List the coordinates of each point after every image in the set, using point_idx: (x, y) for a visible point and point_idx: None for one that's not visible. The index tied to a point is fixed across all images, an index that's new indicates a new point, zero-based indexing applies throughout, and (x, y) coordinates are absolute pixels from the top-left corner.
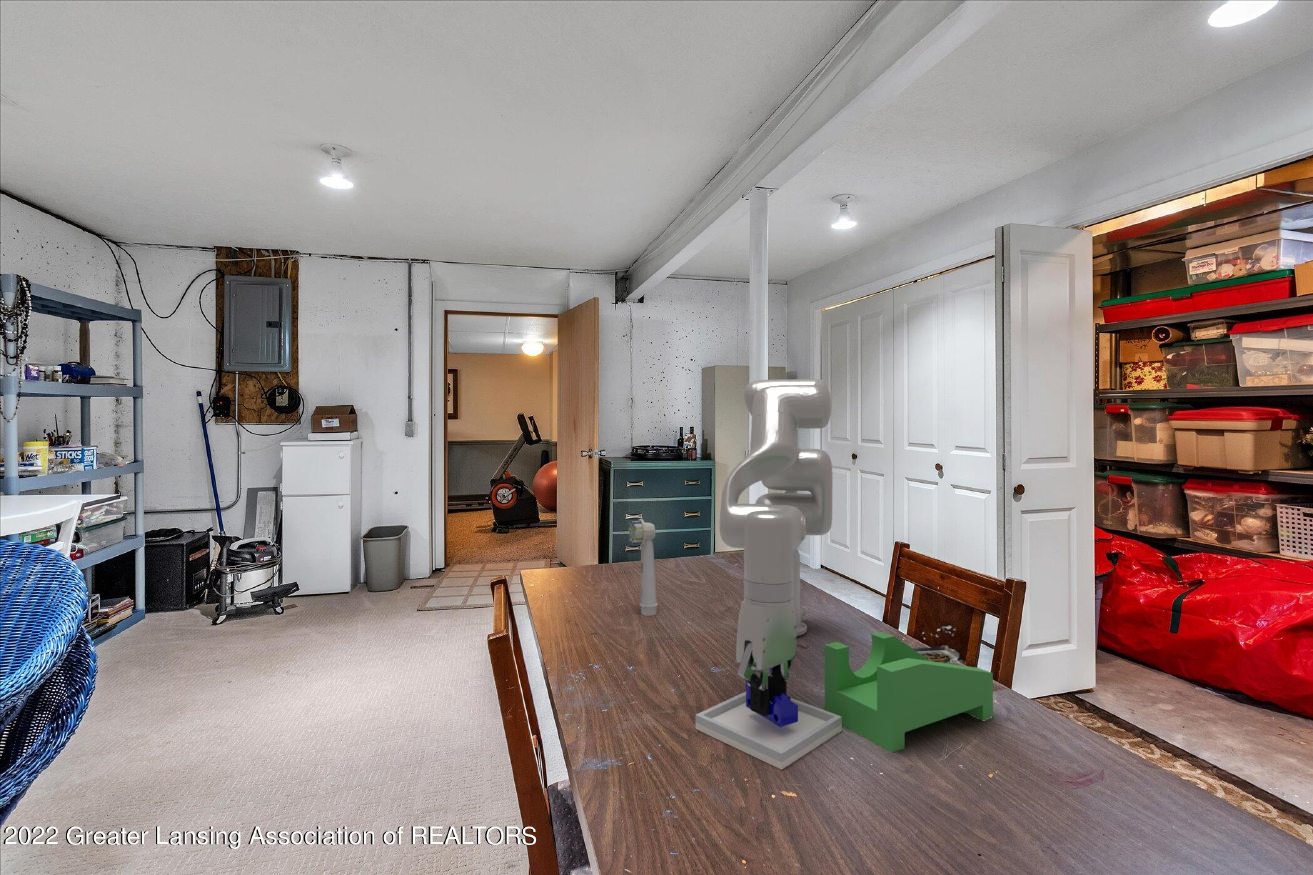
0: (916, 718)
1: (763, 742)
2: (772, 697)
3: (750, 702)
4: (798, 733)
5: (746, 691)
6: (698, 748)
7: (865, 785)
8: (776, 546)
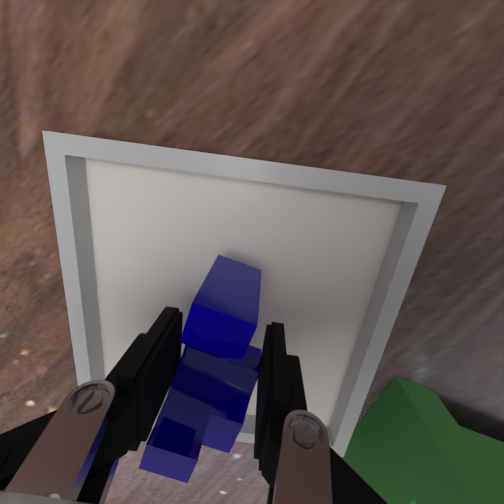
0: None
1: (87, 374)
2: (263, 352)
3: (157, 319)
4: None
5: (204, 281)
6: (16, 213)
7: (171, 484)
8: None
